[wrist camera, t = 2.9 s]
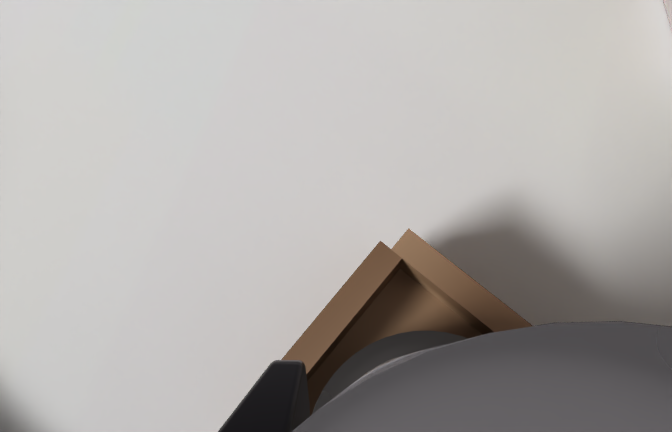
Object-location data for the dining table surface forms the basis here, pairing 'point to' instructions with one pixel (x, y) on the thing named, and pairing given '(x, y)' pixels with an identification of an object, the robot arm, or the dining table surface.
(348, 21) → the dining table surface
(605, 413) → the grey cylinder
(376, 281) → the socket block
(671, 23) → the ceramic cup
